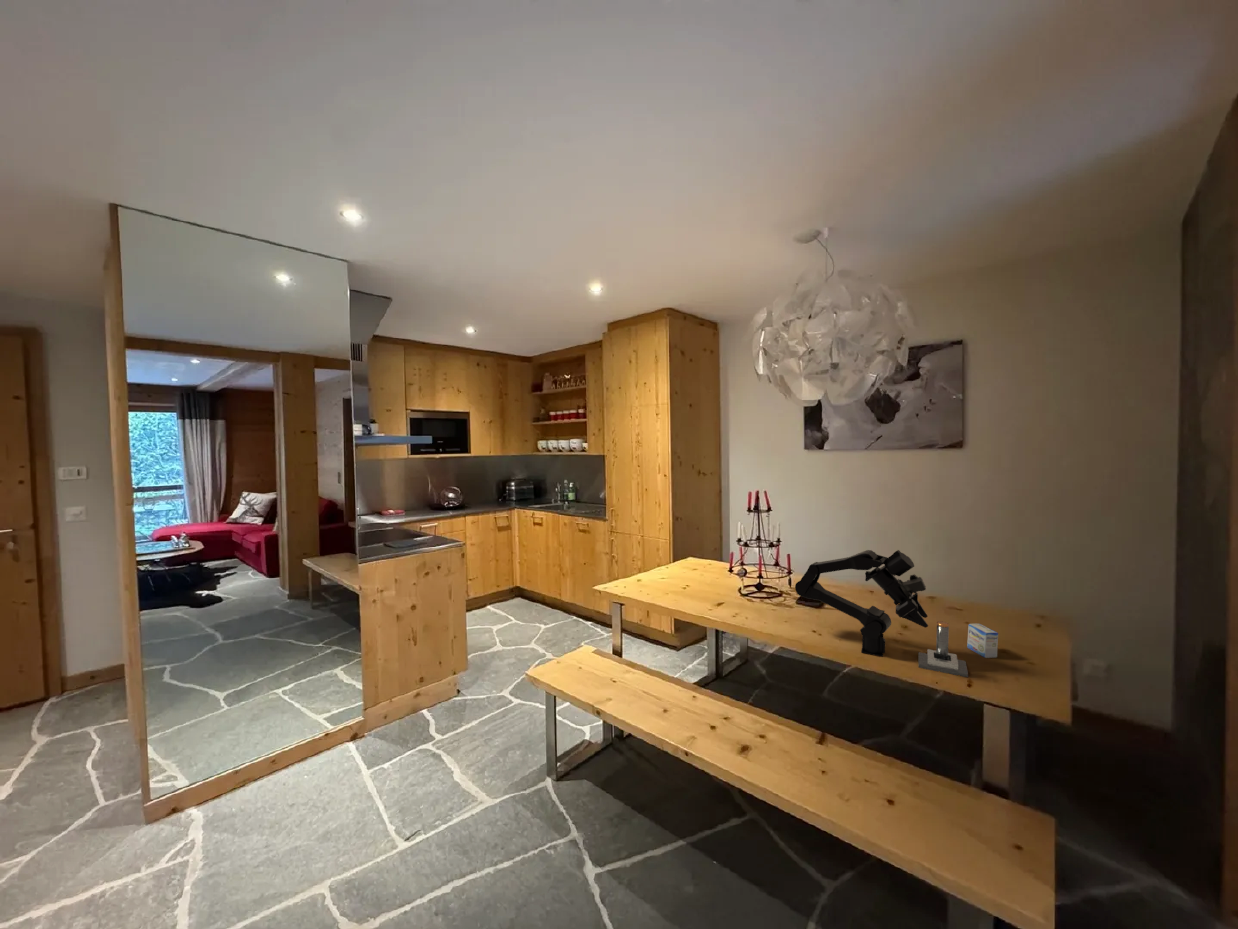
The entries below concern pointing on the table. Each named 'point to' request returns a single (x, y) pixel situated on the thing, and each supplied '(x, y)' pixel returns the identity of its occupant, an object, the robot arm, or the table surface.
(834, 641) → the table surface
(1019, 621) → the table surface
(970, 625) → the medicine box
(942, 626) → the steel pin
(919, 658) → the plate
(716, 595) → the table surface
